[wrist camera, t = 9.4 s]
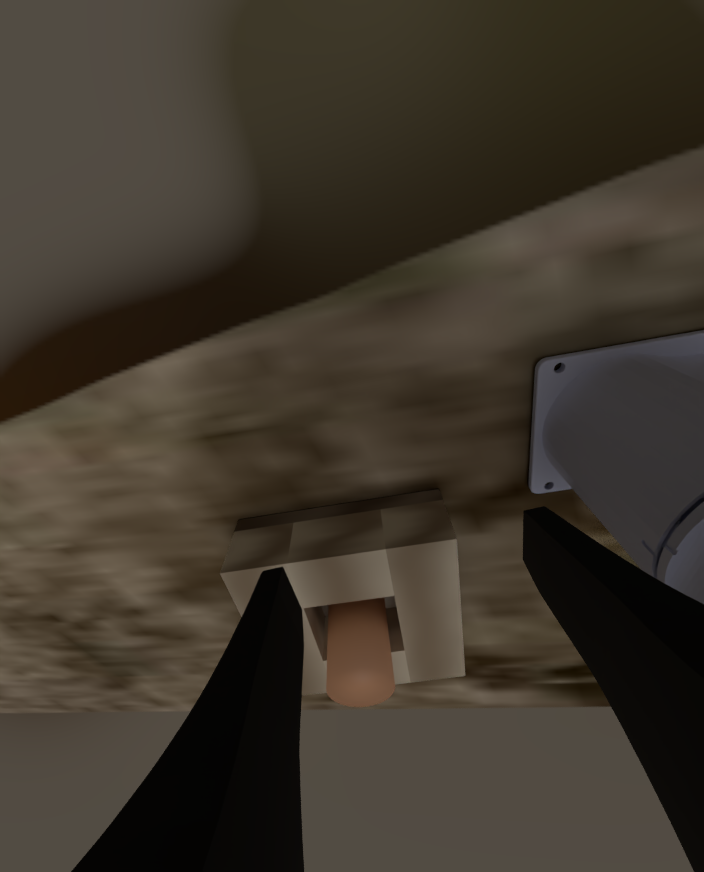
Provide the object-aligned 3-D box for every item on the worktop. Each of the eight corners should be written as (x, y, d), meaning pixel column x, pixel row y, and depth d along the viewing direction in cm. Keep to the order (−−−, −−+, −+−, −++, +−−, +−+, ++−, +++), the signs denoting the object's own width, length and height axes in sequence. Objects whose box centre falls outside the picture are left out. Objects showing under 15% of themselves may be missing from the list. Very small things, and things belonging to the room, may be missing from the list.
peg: (393, 583, 25) (408, 680, 19) (364, 614, 26) (370, 713, 21) (347, 563, 24) (349, 660, 18) (318, 596, 25) (313, 696, 20)
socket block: (439, 489, 22) (456, 538, 19) (449, 619, 28) (465, 675, 25) (238, 519, 23) (219, 573, 20) (289, 640, 29) (282, 698, 25)
